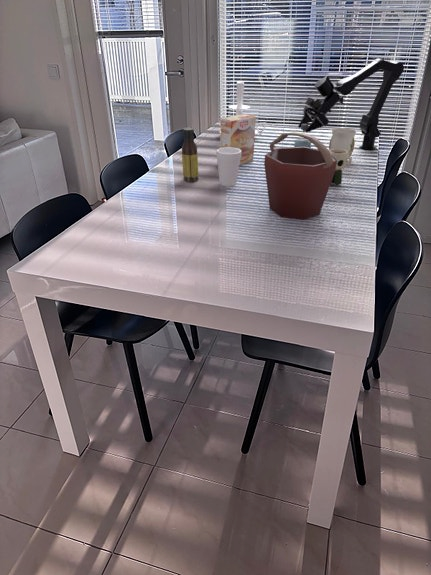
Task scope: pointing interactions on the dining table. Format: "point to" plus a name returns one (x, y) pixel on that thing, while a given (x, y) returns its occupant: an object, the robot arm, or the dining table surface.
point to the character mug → (339, 164)
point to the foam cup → (228, 165)
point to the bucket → (298, 178)
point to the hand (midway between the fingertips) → (302, 129)
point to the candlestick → (241, 107)
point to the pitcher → (343, 140)
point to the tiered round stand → (302, 143)
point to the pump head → (304, 127)
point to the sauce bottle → (189, 156)
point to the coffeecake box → (239, 135)
